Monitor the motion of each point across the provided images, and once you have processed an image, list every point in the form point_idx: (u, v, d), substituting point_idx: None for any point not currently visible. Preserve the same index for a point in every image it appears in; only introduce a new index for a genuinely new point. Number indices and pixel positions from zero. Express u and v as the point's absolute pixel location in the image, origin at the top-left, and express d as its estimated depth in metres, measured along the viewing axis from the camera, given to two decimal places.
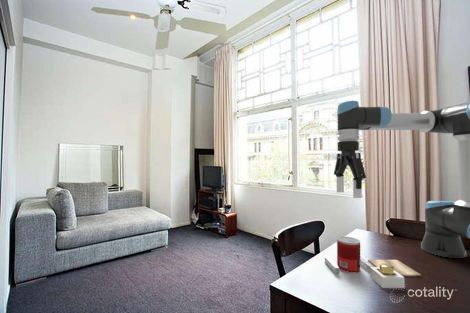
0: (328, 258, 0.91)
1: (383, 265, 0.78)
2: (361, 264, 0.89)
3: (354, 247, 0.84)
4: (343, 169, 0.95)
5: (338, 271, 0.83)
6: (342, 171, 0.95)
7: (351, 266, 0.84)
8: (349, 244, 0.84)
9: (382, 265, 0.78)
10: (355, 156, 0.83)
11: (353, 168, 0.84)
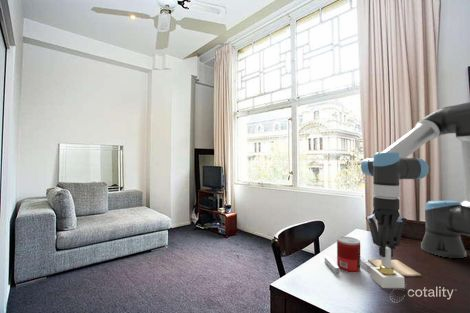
0: (328, 258, 0.91)
1: (383, 266, 0.78)
2: (361, 264, 0.89)
3: (354, 247, 0.84)
4: (388, 234, 0.78)
5: (338, 271, 0.83)
6: (388, 237, 0.78)
7: (351, 266, 0.84)
8: (349, 244, 0.84)
9: (382, 266, 0.78)
10: (368, 221, 0.79)
11: (379, 232, 0.79)
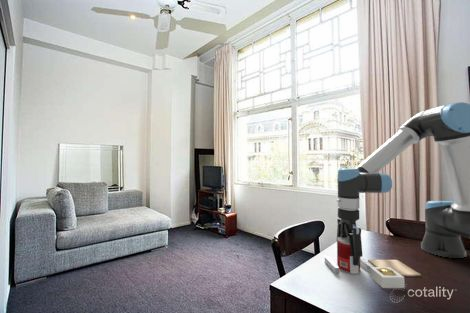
0: (328, 258, 0.91)
1: (383, 269, 0.78)
2: (361, 264, 0.89)
3: None
4: None
5: (338, 271, 0.83)
6: None
7: None
8: (349, 244, 0.84)
9: (382, 269, 0.78)
10: (355, 232, 0.81)
11: (351, 242, 0.84)
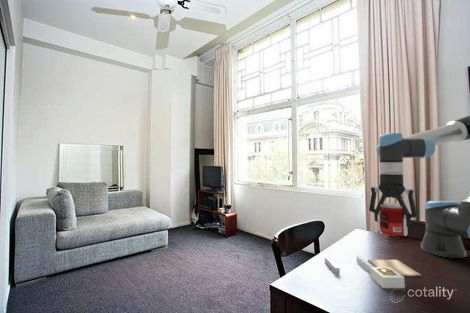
0: (328, 258, 0.91)
1: (383, 269, 0.78)
2: (361, 264, 0.89)
3: None
4: (382, 203, 0.91)
5: (338, 271, 0.83)
6: None
7: (403, 229, 0.85)
8: None
9: (382, 269, 0.78)
10: (412, 194, 0.83)
11: (404, 205, 0.85)
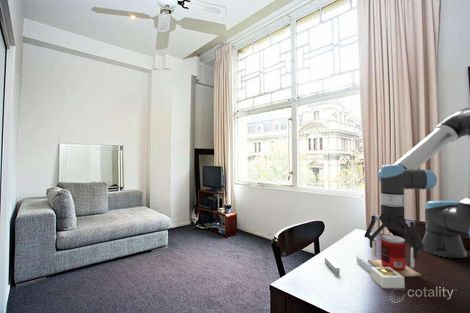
0: (328, 258, 0.91)
1: (383, 269, 0.78)
2: (361, 264, 0.89)
3: None
4: (379, 232, 0.91)
5: (338, 271, 0.83)
6: (377, 234, 0.92)
7: (404, 263, 0.85)
8: (403, 242, 0.84)
9: (382, 269, 0.78)
10: (414, 225, 0.83)
11: (408, 236, 0.84)
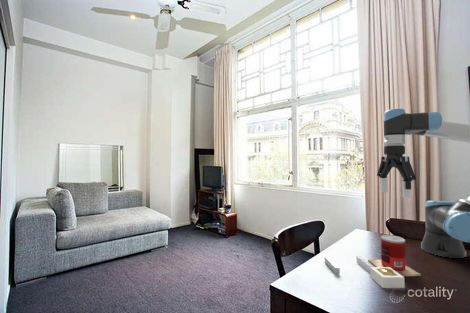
0: (328, 258, 0.91)
1: (383, 269, 0.78)
2: (361, 264, 0.89)
3: (405, 244, 0.85)
4: (388, 171, 1.03)
5: (338, 271, 0.83)
6: (386, 173, 1.04)
7: (404, 264, 0.85)
8: (403, 242, 0.84)
9: (382, 269, 0.78)
10: (404, 159, 0.91)
11: (402, 170, 0.93)
